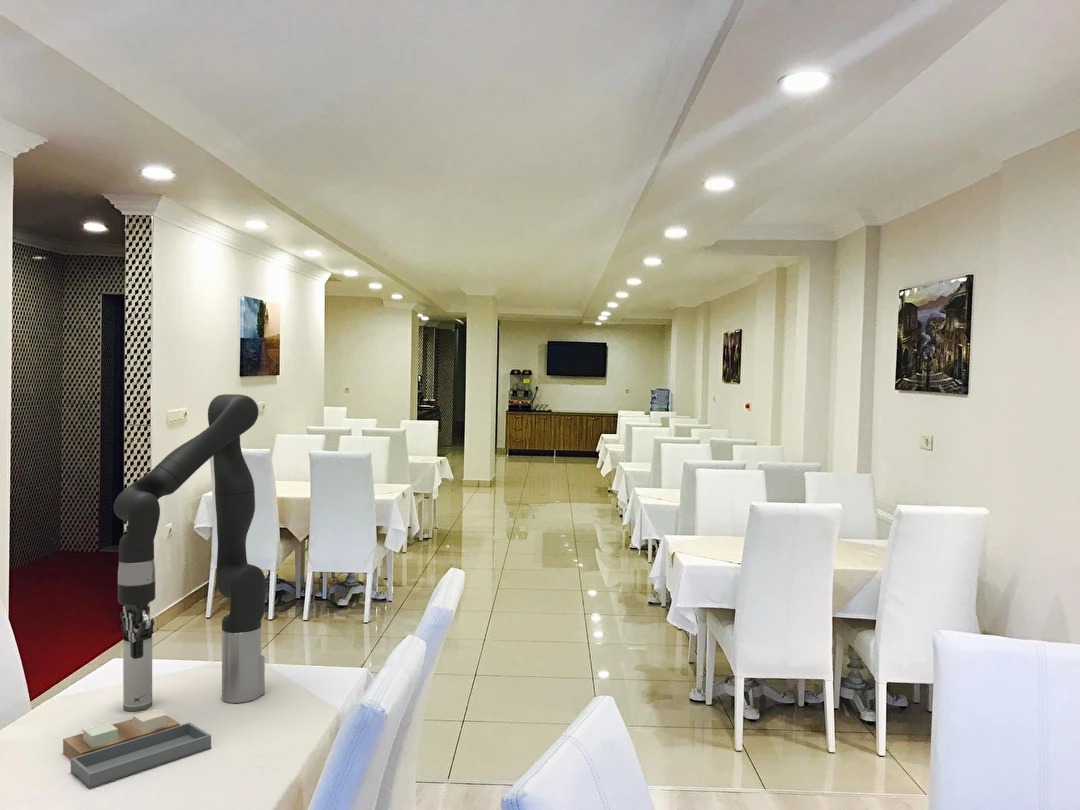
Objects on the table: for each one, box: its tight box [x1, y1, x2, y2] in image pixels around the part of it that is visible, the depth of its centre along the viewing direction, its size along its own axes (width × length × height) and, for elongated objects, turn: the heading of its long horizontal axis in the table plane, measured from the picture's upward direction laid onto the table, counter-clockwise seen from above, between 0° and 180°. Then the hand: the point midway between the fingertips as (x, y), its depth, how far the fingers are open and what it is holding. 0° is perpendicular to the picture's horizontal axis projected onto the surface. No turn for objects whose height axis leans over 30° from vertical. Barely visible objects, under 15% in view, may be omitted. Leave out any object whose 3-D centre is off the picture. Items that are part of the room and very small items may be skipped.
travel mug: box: [122, 628, 153, 713], centre depth 196 cm, size 6×7×20 cm
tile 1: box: [82, 721, 118, 748], centre depth 170 cm, size 5×5×2 cm
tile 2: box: [132, 708, 167, 733], centre depth 178 cm, size 5×5×2 cm
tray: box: [70, 721, 212, 790], centre depth 168 cm, size 24×10×3 cm, turn 138°
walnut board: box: [62, 715, 180, 760], centre depth 175 cm, size 20×10×3 cm, turn 138°
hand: (136, 657), depth 182 cm, fingers closed
